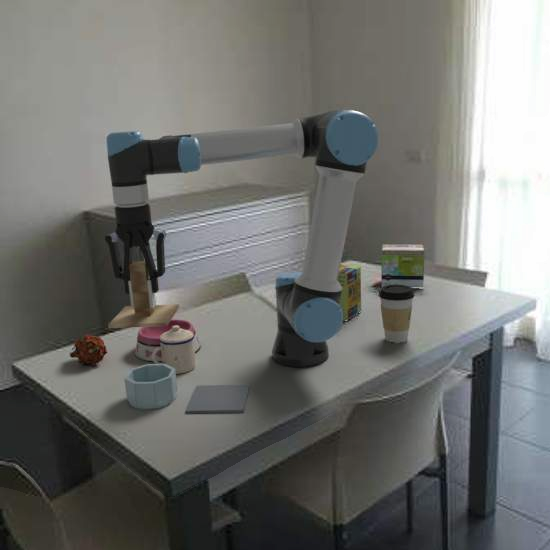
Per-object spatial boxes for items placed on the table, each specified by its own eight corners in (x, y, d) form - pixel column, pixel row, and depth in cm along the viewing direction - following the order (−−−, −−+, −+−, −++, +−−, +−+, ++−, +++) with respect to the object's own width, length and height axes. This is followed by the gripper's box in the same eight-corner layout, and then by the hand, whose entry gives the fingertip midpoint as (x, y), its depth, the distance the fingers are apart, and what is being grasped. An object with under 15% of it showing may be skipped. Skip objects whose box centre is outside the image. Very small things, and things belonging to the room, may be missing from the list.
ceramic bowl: (180, 388, 151) (178, 363, 149) (170, 409, 140) (167, 383, 139) (136, 388, 152) (133, 364, 150) (123, 409, 141) (120, 383, 140)
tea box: (381, 289, 223) (381, 249, 220) (381, 282, 233) (381, 243, 229) (424, 289, 221) (424, 249, 217) (422, 282, 230) (422, 243, 227)
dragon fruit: (101, 374, 165) (80, 369, 174) (120, 349, 169) (98, 345, 178) (79, 356, 161) (58, 351, 169) (99, 330, 165) (78, 327, 173)
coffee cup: (420, 337, 176) (421, 287, 172) (402, 348, 169) (402, 295, 165) (391, 330, 182) (391, 282, 178) (372, 340, 175) (371, 290, 171)
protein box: (348, 322, 192) (347, 273, 188) (305, 315, 200) (303, 269, 196) (362, 312, 200) (361, 265, 196) (320, 306, 208) (318, 261, 204)
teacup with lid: (185, 358, 169) (181, 318, 166) (203, 367, 163) (199, 326, 160) (146, 371, 162) (141, 329, 159) (163, 381, 155) (158, 338, 152)
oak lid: (179, 307, 147) (173, 255, 143) (166, 326, 134) (160, 269, 131) (125, 309, 148) (119, 257, 144) (108, 328, 135) (100, 271, 132)
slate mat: (249, 386, 150) (249, 384, 150) (243, 412, 137) (243, 409, 137) (196, 387, 151) (196, 385, 151) (186, 413, 138) (185, 410, 138)
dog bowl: (161, 368, 164) (159, 344, 162) (122, 353, 176) (119, 330, 174) (213, 347, 177) (211, 325, 175) (173, 334, 189) (171, 313, 187)
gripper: (173, 199, 137) (183, 300, 143) (100, 203, 138) (113, 302, 145) (165, 205, 130) (176, 310, 136) (88, 208, 131) (103, 313, 137)
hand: (144, 306), depth 140 cm, fingers closed on oak lid, 3 cm apart
